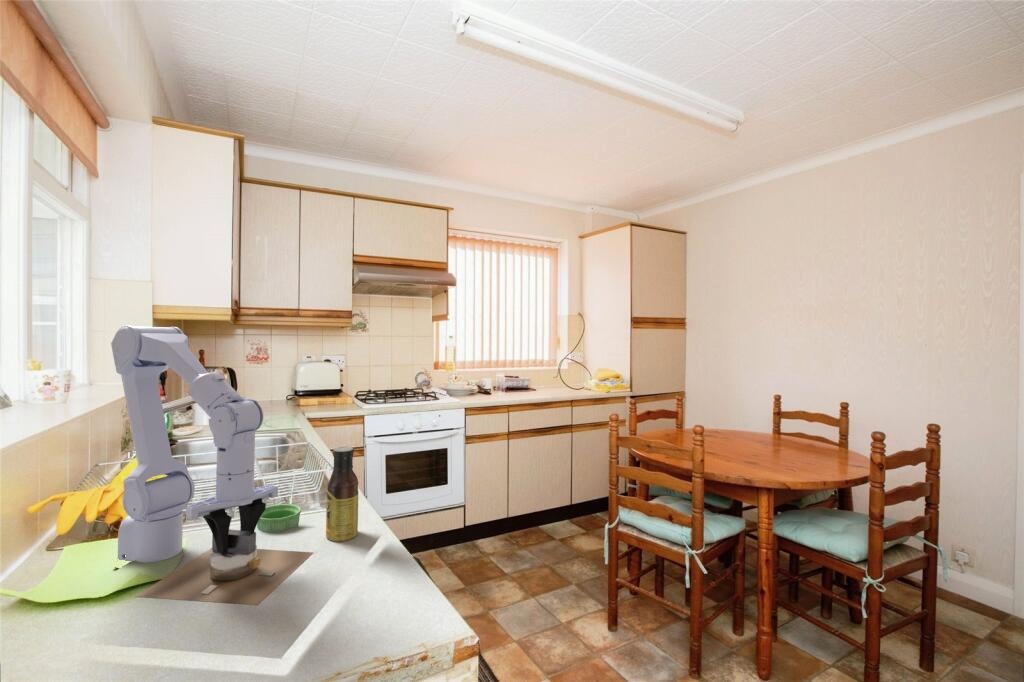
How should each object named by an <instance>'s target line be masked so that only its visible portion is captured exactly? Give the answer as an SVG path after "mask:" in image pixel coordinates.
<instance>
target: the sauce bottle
mask: <svg viewBox="0 0 1024 682" xmlns="http://www.w3.org/2000/svg"><path fill="white" fill-rule="evenodd" d="M354 452H355V449H354V447H352V446H349V445H348V446H338V447H337V446H336V447H335V448H333V450H332V456H333V457H332V458H333V467H332V472H331V474H330V478H329V481H328V484H327V486H326V505H325V507H326V510H325V515H326V516H325V517H326V518H325V537H326V539H327V540H328V541H331V542H335V543H336V542H337V543H338V542H339V543H340V542H346V541H349V540H352V539H354V538H356V536H357V535H358V530H359V529H358V526H359V479H358V476H357V475H356V473H355V472H354V470H353V468H354V465H353V463H354V462H353V461H354V459H353V458H354V454H355V453H354Z"/></svg>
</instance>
